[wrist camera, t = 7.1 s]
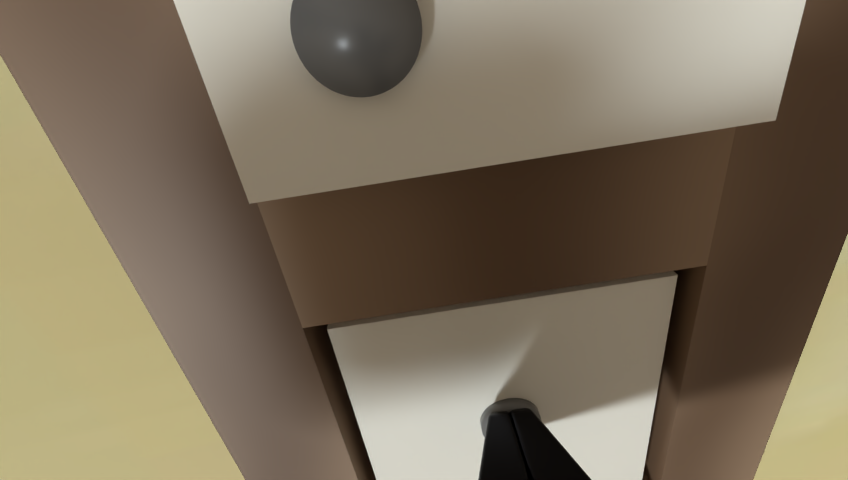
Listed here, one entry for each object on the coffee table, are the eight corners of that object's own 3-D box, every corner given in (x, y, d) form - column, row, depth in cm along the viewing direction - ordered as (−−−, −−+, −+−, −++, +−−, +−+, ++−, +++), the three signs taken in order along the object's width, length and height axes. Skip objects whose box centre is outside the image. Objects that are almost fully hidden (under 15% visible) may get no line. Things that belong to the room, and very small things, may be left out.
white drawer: (389, 426, 13) (390, 529, 11) (340, 250, 10) (325, 337, 8) (597, 394, 13) (645, 490, 11) (612, 207, 10) (684, 281, 8)
